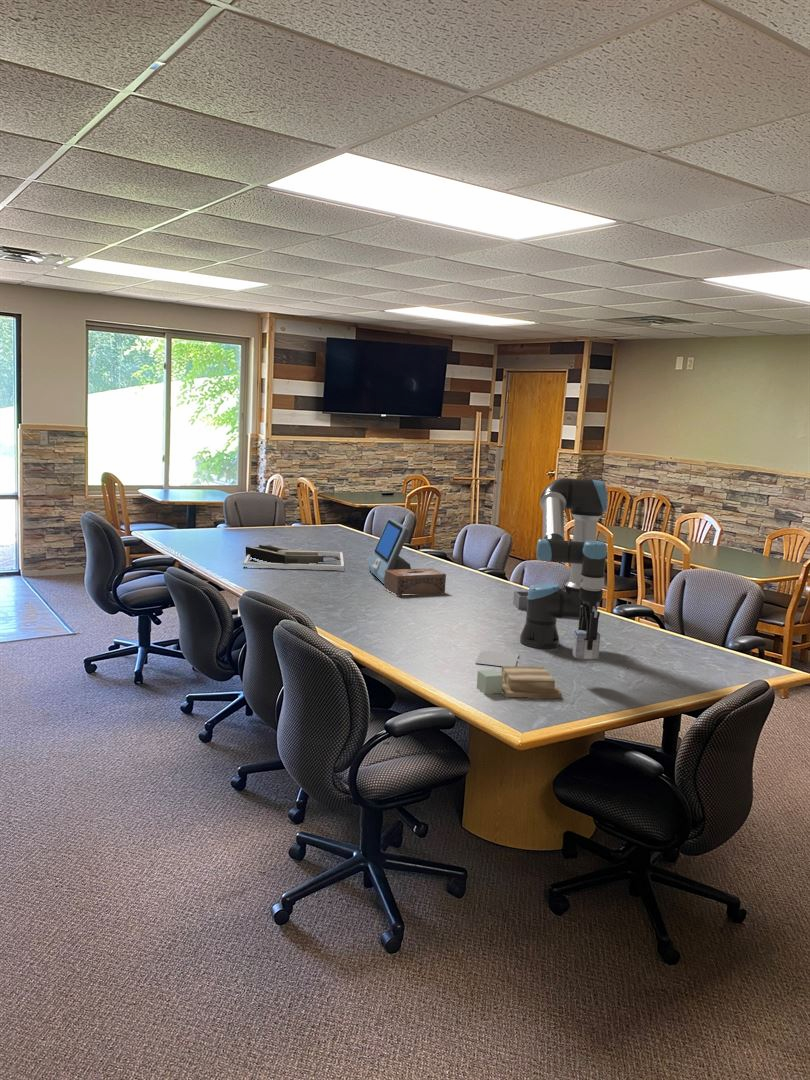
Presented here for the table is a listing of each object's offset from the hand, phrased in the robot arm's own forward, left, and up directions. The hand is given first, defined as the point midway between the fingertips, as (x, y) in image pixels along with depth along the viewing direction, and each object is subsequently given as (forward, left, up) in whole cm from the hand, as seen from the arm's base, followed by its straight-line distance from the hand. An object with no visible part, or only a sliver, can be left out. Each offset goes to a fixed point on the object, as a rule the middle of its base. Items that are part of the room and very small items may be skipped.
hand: (585, 655), depth 275 cm
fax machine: (-195, -103, -9) cm, 221 cm away
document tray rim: (-195, -103, -9) cm, 221 cm away
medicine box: (0, 0, -1) cm, 1 cm away
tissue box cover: (-130, -43, -10) cm, 138 cm away
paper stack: (-17, -21, -10) cm, 29 cm away
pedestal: (+8, -21, -9) cm, 24 cm away
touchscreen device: (-160, -52, -9) cm, 169 cm away
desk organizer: (-105, +12, -9) cm, 106 cm away
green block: (+11, -34, -9) cm, 37 cm away
